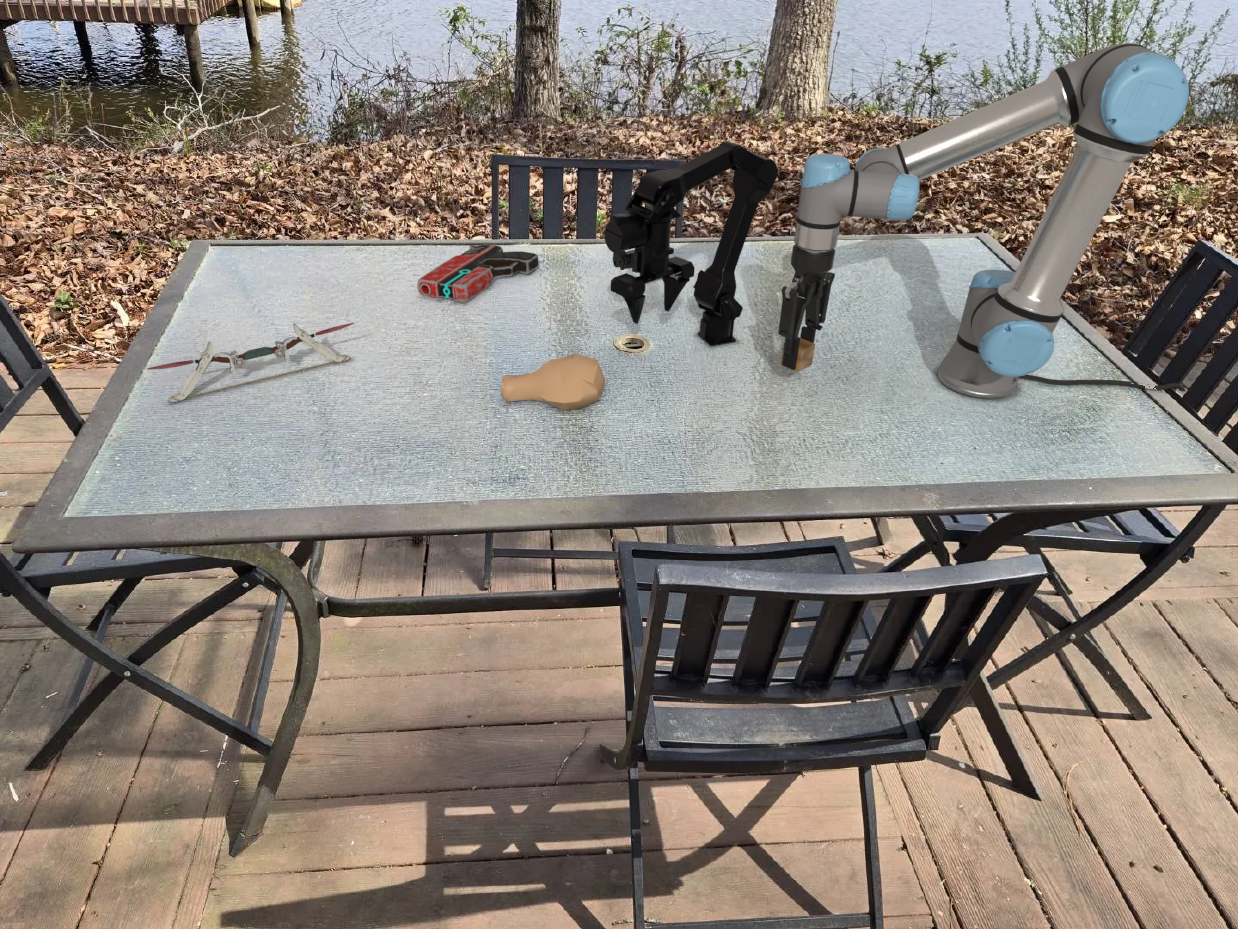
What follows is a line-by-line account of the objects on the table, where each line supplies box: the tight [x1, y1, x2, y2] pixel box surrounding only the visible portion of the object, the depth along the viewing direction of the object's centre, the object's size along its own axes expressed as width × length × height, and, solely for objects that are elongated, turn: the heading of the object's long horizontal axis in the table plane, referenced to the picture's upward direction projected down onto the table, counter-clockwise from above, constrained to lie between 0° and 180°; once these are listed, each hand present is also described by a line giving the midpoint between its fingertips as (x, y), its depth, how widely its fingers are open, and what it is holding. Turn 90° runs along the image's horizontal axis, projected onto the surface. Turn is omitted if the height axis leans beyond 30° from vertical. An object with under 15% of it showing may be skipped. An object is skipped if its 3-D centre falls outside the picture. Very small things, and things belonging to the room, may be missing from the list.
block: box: [780, 337, 816, 372], centre depth 168 cm, size 4×4×4 cm
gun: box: [416, 243, 540, 303], centre depth 216 cm, size 4×31×19 cm
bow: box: [146, 322, 355, 403], centre depth 169 cm, size 39×2×10 cm, turn 124°
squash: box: [500, 353, 606, 411], centre depth 166 cm, size 11×20×9 cm, turn 90°
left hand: (651, 316), depth 179 cm, fingers open, 9 cm apart
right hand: (796, 362), depth 169 cm, fingers closed on block, 4 cm apart
